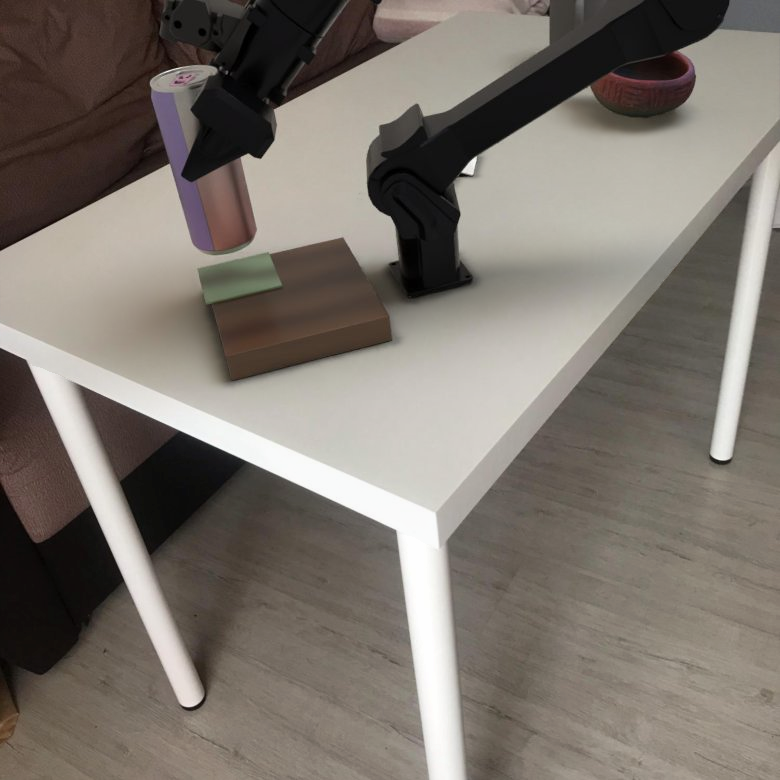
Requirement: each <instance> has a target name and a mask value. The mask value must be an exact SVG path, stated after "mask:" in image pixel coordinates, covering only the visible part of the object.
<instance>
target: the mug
mask: <svg viewBox="0 0 780 780" xmlns="http://www.w3.org/2000/svg"><path fill="white" fill-rule="evenodd" d="M606 1H607V0H549V28H548V29H549V32H548V33H549V34H548V36H549V42H548V44H549V45H550V44H552V43H554V42H555V41H557V40H558V39H560V38H561V37H563V36H564V35H566V34H567V33H569V32H571V31H572V30H574V29H575V28H577V27H578V26H580V25H581V24H583V23H584V22H586V21H587V20H589V19H591V18H592V17H593V16H594V15H595V14H596V13H597V12H598V11H599V10H600V9H601V8H602V6H603V5H604V4H605V2H606ZM549 45H548V46H549Z"/></svg>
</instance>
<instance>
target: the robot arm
mask: <svg viewBox="0 0 780 780" xmlns="http://www.w3.org/2000/svg"><path fill="white" fill-rule="evenodd" d="M369 1H370V2H371V3H372V4H374V5H377V6H379V5H380V4H382V2H383V0H369ZM730 1H731V0H607V1H606V2H605V4H604V5H603V6H602V8H601V9H600V10H599V11H598V12H597V13H596V14H595V15H594V16H593V17H592V18H591V19H589V20H587V21H586V22H584V23H583V24H581V25H580V26H578V27H577V28H575V29H574V30H572V31H571V32H569V33H567V34H566V35H564V36H563V37H561V38H560V39H558V40H557V41H555V42H554V43H552V44H550V45H547V46H546V47H545V48H543V49H541V50H540V51H538V52H537V53H535V54H533V55H532V56H530V57H529V58H527V59H526V60H524V61H523V62H521V63H520V64H518V65H516V66H515V67H514V68H511V69H510V70H509V71H507V72H506V73H504V74H502V75H501V76H500V77H498V78H497V79H495V80H493V81H491V83H489V84H487V85H486V86H484V87H482V88H481V89H479V90H478V91H476V92H475V93H473V94H471V95H470V96H469V97H467V98H466V99H463V101H461V102H459V103H458V104H456V105H455V106H453V107H452V108H450V109H448V110H446V111H443V112H438V113H433V114H430V115H424V114H423V110H422V109H421V106H420V104H419V103H414V104H412V105H411V106H410V107H409V108H407V109H406V110H405V111H404V112H403V113H402V114H401V115H400V116H399V117H397V118H396V119H394V120H392V121H391V122H388V123H383V124H379V126H378V135H377V136H376V137H375V138H374V139H372V141H371V143H370V144H369V145H368V149H367V154H366V158H365V163H366V165H365V168H366V189H367V195H368V198H369V200H370V202H371V204H372V206H373V207H374V208H375V209H377V210H378V212H379V213H382V214H384V215H385V216H388V217H390V219H391V221H392V222H393V224H394V229H395V239H396V248H397V249H396V250H397V258H398V260H394V261H391V262H389V263H388V268H389V271H390V272H391V274H392V275H393V277H394V279H395V280H396V282H397V283H398V285H399V286H400V288H401V289H402V291H403V292H404V294H405V295H406V297H408V298H415V297H418V296H422V295H426V294H430V293H431V294H432V293H435V292H439V291H443V290H447V289H451V288H456V287H459V286H464V285H467V284H471V283H473V282H474V275H473V274H472V273H471V272H470V270H469V269H468V267H466V265H465V264H464V263H463V261H462V260H461V259H460V245H459V243H460V242H459V230H458V229H459V226H458V225H459V222H460V219H461V216H462V214H461V209H460V204H459V199H458V196H457V192H456V186H455V183H454V182H455V181H456V180H457V179H458V178H459V176H460V175H461V174H462V173H461V172H462V171H463V170H464V168H465V167H466V166H467V165H468V163H469V162H470V161H471V160H472V159H474V158H475V157H476V156H477V157H478V156H480V155H481V154H483V153H484V152H486V151H487V150H489V149H491V148H492V147H494V146H495V145H497V144H499V143H500V142H502V141H504V140H505V139H507V138H508V137H510V136H512V135H514V134H515V133H517V132H518V131H519V130H522V129H523V128H524V127H526V126H527V125H529V124H531V123H533V122H535V121H536V120H537V119H539V118H541V117H542V116H544V115H545V114H547V113H549V112H550V111H552V110H554V109H555V108H557V107H558V106H560V105H561V104H563V103H564V102H566V101H568V100H570V99H571V98H573V97H574V96H576V95H577V94H579V93H580V92H582V91H584V90H586V89H587V88H589V87H590V85H592V84H594V83H595V82H597V81H598V80H600V79H602V78H603V77H605V76H606V75H608V74H610V73H611V72H613V71H614V70H616V69H618V68H619V67H621V66H624V65H626V64H630V63H634V62H639V61H643V60H648V59H652V58H657V57H662V56H665V55H668V54H670V53H673V52H675V51H679V50H682V49H684V48H686V47H687V48H688V47H689V46H692V45H694V44H696V43H699V42H701V41H703V40H705V39H707V38H709V36H711V35H712V34H713V33H714V32H716V31H717V30H718V29H719V28H720V26H722V24H723V23H724V21H725V16H726V14H727V12H728V9H729V7H730ZM349 2H350V0H248V1H247V2H246V4H245V6H243V5H242V4H241V5H240V4H238V3H235V2H232V1H229V0H164V3H163V10H162V11H163V12H162V13H161V15H160V20H161V22H160V28H159V37H161V38H162V39H163V40H166V41H168V42H170V43H174V44H176V43H178V42H180V43H183V44H185V45H189V46H193V47H195V48H199V49H202V50H205V51H208V52H212V53H214V54H216V56H215V57H214V56H212V57H210V59H209V62H208V64H207V65H208V66H213V67H215V68H217V69H218V72H219V75H211V76H208V77H207V79H206V81H205V82H204V84H203V85H202V87H201V88H200V90H199V92H198V93H197V94H196V97H195V99H194V101H193V104H192V106H191V109H190V111H191V112H192V113H193V114H194V116H195V117H196V118H198V120H199V123H200V128H199V131H198V133H197V135H196V138H195V140H194V143H193V145H192V148H191V150H190V153H189V155H188V157H187V160H186V162H185V165H184V167H183V170H182V172H181V176H182V177H183V178H184V179H186V180H187V181H189V182H194V181H196V180H198V179H199V178H201V177H203V176H205V175H207V174H209V173H211V172H213V171H214V170H216V169H218V168H220V167H222V166H224V165H226V164H228V163H230V162H232V161H234V160H236V159H238V158H240V157H241V158H242V157H244V156H246V155H248V154H249V155H250V156H251V157H253V158H254V159H259V160H262V158H263V157H264V156H265V154H266V153H267V152H268V150H270V148H271V146H272V145H273V144H274V142H275V141H276V134H277V127H278V123H277V118H276V114H275V108H274V107H272V106H271V105H270V104H269V102H272V103H273V104H275V106H277V107H280V106H281V105H282V104H283V102H284V100H285V99H286V97H287V95H288V94H287V92H288V88H289V86H290V85H291V84H292V82H293V81H294V80H295V78H296V77H297V75H298V74H299V72H300V71H301V69H303V67H304V65H305V64H306V65H307V66H310V64H311V62H312V61H313V59H314V58H315V57H316V55H317V47H318V46H319V44H320V43H321V41H322V40H323V38H324V37H325V36H326V34H327V33H328V31H329V30H330V28H331V27H332V26H333V24H334V23H335V22H336V20H337V19H338V18H339V16H340V15H341V13H342V12H343V10H344V9H345V7H346V6H347V4H348V3H349Z"/></svg>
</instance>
